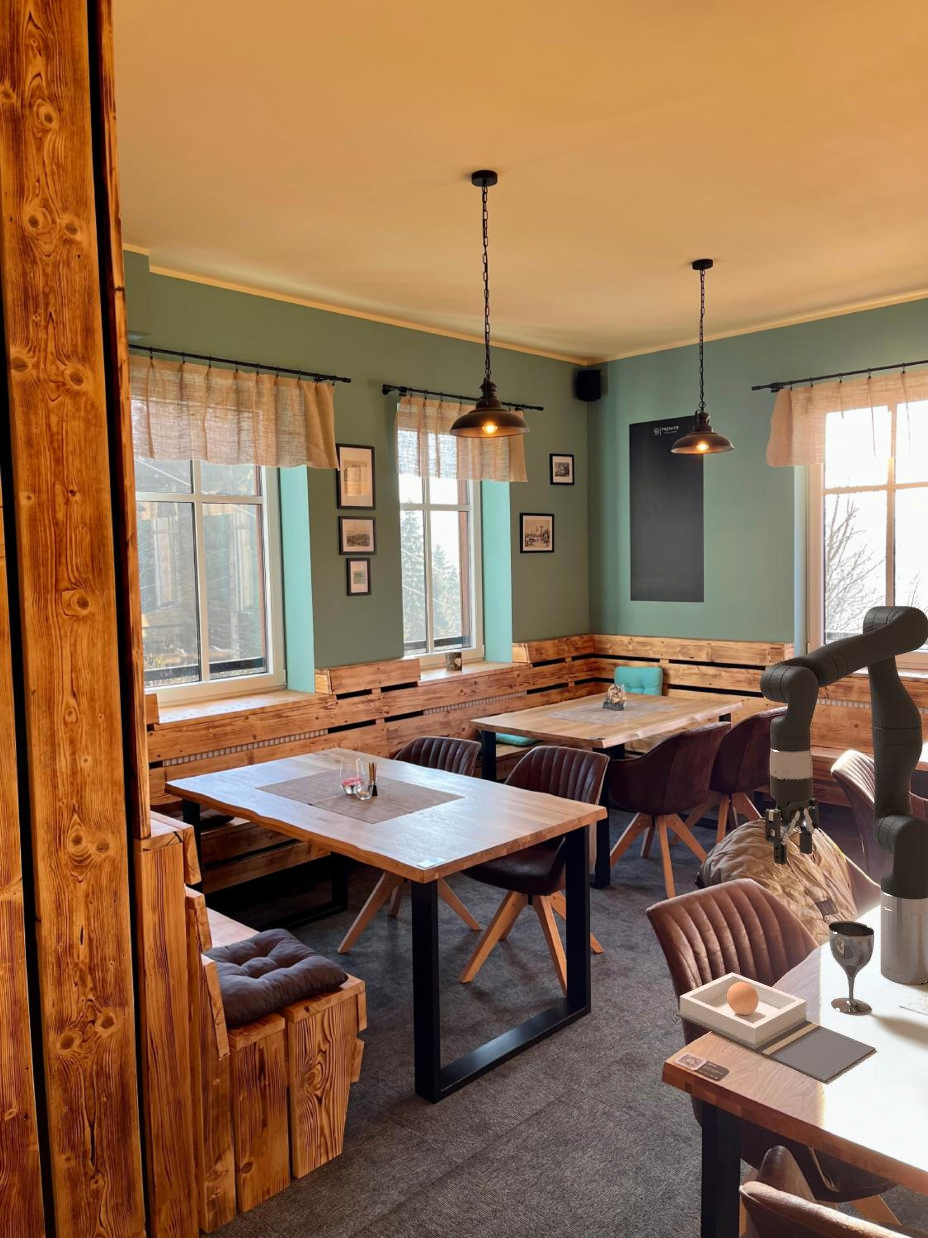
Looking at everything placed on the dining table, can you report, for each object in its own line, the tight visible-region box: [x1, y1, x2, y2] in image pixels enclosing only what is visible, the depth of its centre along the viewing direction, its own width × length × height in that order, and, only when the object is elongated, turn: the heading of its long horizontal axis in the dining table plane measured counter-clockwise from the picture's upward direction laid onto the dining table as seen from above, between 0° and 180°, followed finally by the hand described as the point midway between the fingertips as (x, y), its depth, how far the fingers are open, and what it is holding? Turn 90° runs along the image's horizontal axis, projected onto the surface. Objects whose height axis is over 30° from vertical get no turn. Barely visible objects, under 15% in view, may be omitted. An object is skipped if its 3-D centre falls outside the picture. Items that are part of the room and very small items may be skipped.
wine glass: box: [828, 920, 875, 1016], centre depth 172 cm, size 8×8×15 cm
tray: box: [679, 972, 807, 1049], centre depth 168 cm, size 16×16×4 cm
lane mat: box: [675, 1011, 876, 1084], centre depth 163 cm, size 16×30×1 cm, turn 38°
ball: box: [727, 982, 759, 1015], centre depth 167 cm, size 6×6×6 cm
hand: (793, 858), depth 170 cm, fingers open, 8 cm apart
